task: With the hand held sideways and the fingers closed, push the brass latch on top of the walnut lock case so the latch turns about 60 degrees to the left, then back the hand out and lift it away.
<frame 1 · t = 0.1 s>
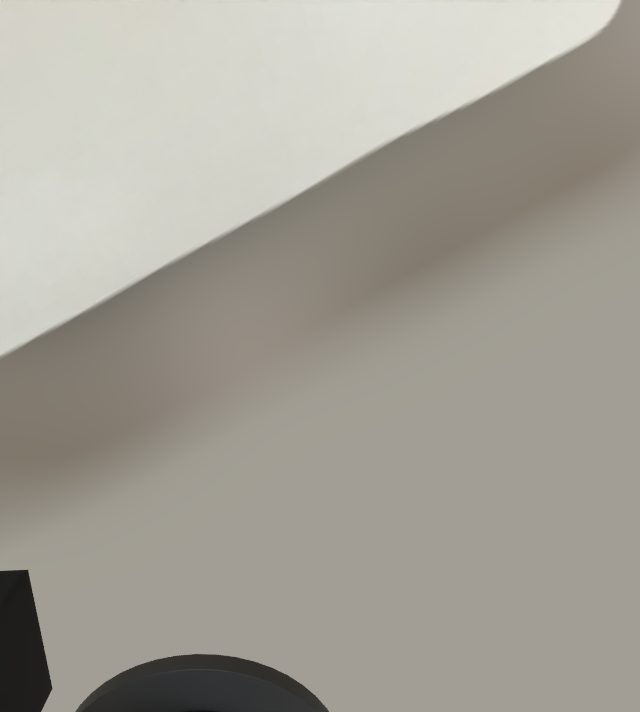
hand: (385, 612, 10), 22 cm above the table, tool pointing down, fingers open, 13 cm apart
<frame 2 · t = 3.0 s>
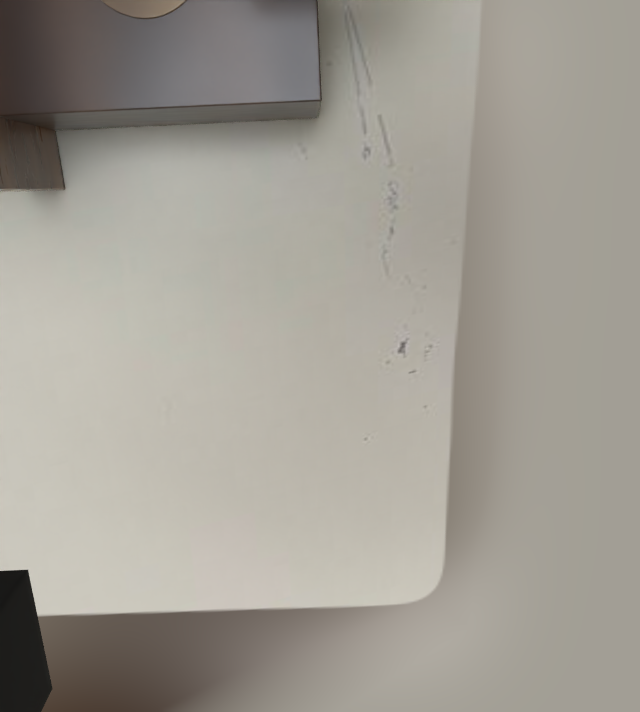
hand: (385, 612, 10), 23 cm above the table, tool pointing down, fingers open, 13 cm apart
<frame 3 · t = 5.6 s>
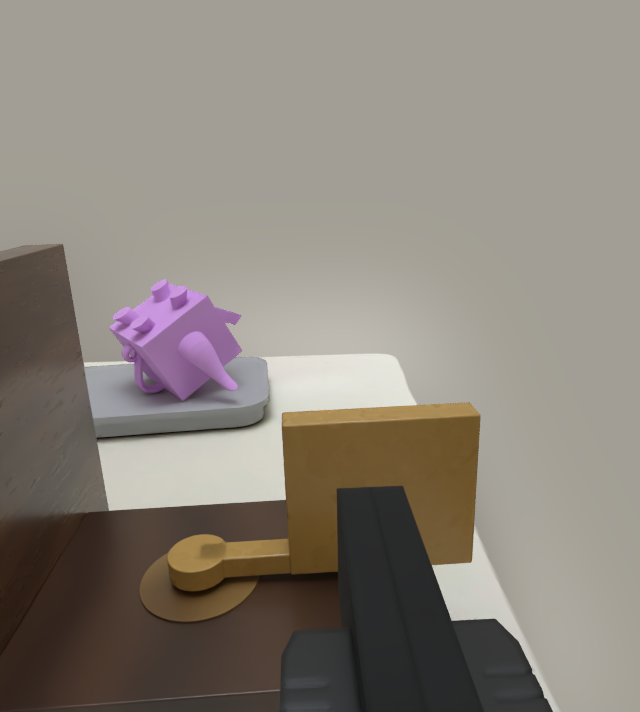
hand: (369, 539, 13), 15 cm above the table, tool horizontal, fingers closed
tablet: (149, 406, 60), on the table, touching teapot
latch: (317, 493, 24), point 10 cm above the table, hinge at 0.0°
lock case: (213, 683, 26), on the table
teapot: (153, 296, 54), point 12 cm above the table, touching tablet
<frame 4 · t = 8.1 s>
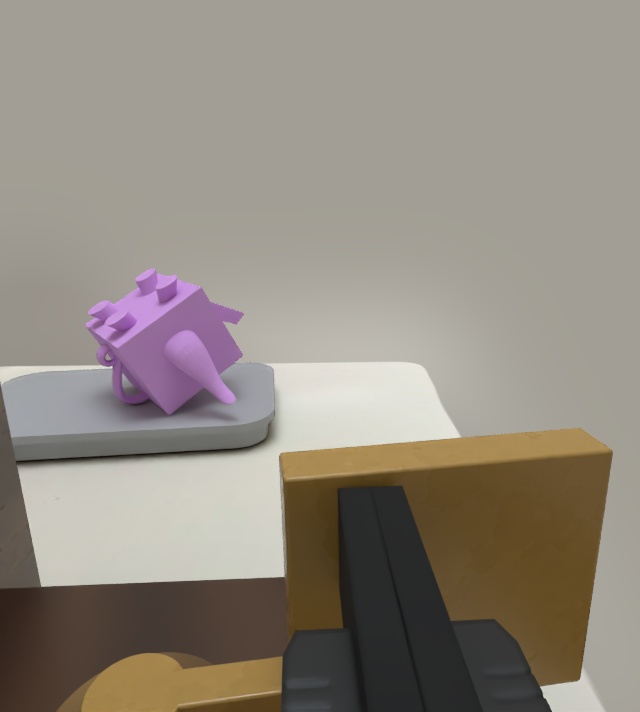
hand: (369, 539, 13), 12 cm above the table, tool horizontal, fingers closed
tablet: (132, 420, 50), on the table, touching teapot
latch: (339, 585, 14), point 10 cm above the table, hinge at 6.3°, touching gripper
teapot: (137, 288, 45), point 12 cm above the table, touching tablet
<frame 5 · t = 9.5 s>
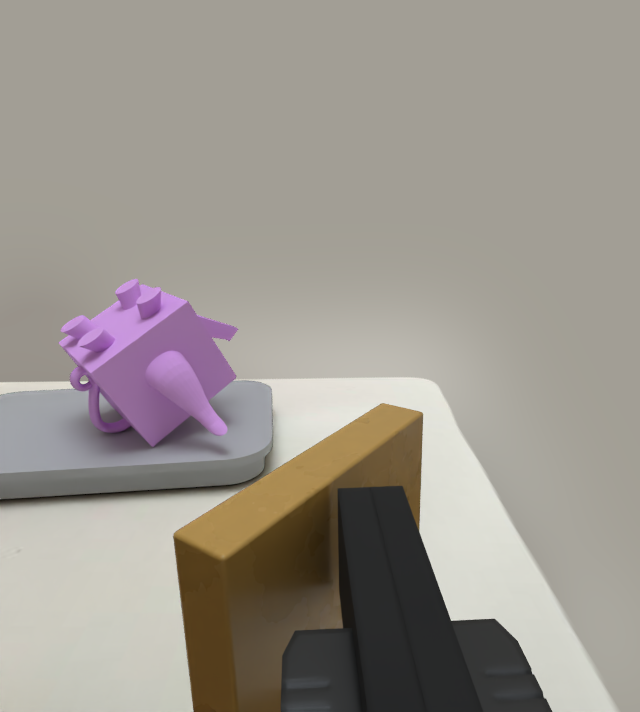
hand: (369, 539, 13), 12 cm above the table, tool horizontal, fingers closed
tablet: (113, 448, 45), on the table, touching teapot
latch: (256, 652, 12), point 10 cm above the table, hinge at 52.1°, touching gripper
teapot: (116, 301, 40), point 12 cm above the table, touching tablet
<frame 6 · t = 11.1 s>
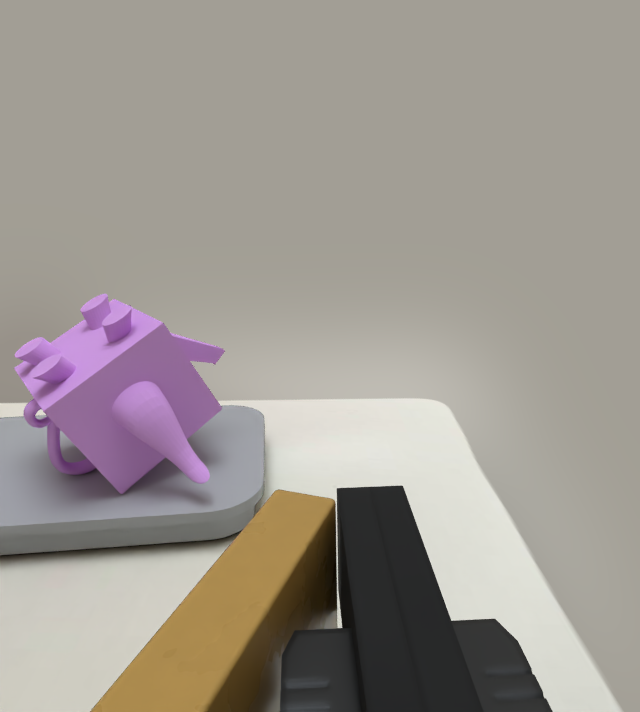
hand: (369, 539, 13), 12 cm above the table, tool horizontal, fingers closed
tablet: (79, 488, 39), on the table, touching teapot
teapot: (79, 322, 34), point 12 cm above the table, touching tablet
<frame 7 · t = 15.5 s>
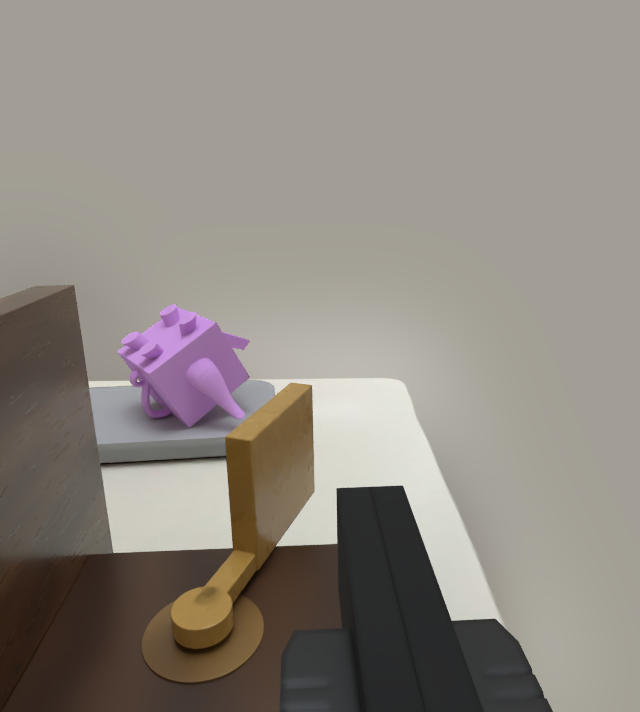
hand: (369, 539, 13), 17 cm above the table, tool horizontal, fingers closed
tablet: (155, 430, 59), on the table, touching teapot
latch: (254, 492, 28), point 10 cm above the table, hinge at 67.7°
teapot: (162, 322, 54), point 12 cm above the table, touching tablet
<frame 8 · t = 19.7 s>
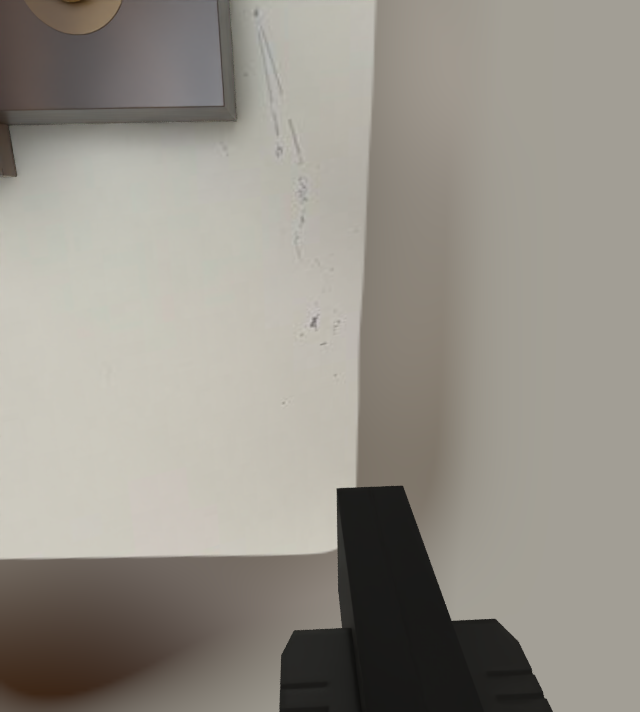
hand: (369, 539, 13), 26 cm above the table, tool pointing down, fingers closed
lock case: (110, 13, 32), on the table
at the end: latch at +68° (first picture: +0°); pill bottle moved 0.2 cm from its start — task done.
